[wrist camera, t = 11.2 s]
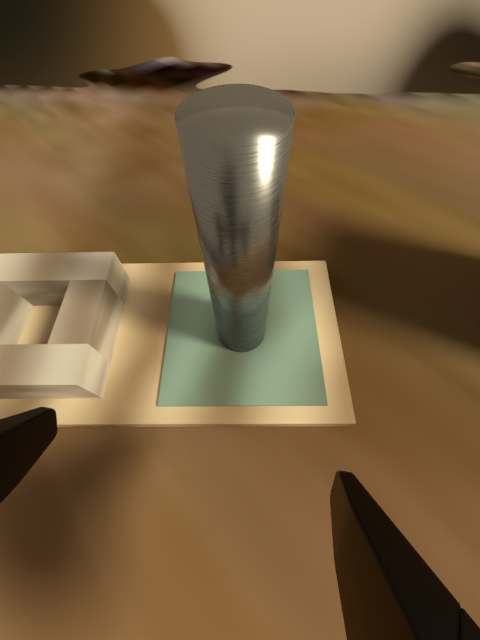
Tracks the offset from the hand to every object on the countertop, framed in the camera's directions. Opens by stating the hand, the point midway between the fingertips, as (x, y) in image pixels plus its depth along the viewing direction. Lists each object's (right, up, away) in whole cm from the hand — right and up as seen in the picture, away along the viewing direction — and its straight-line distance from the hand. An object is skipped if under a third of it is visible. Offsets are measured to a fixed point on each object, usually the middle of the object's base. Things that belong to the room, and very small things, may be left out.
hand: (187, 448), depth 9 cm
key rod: (+2, +3, +10) cm, 11 cm away
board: (-5, +3, +11) cm, 13 cm away
